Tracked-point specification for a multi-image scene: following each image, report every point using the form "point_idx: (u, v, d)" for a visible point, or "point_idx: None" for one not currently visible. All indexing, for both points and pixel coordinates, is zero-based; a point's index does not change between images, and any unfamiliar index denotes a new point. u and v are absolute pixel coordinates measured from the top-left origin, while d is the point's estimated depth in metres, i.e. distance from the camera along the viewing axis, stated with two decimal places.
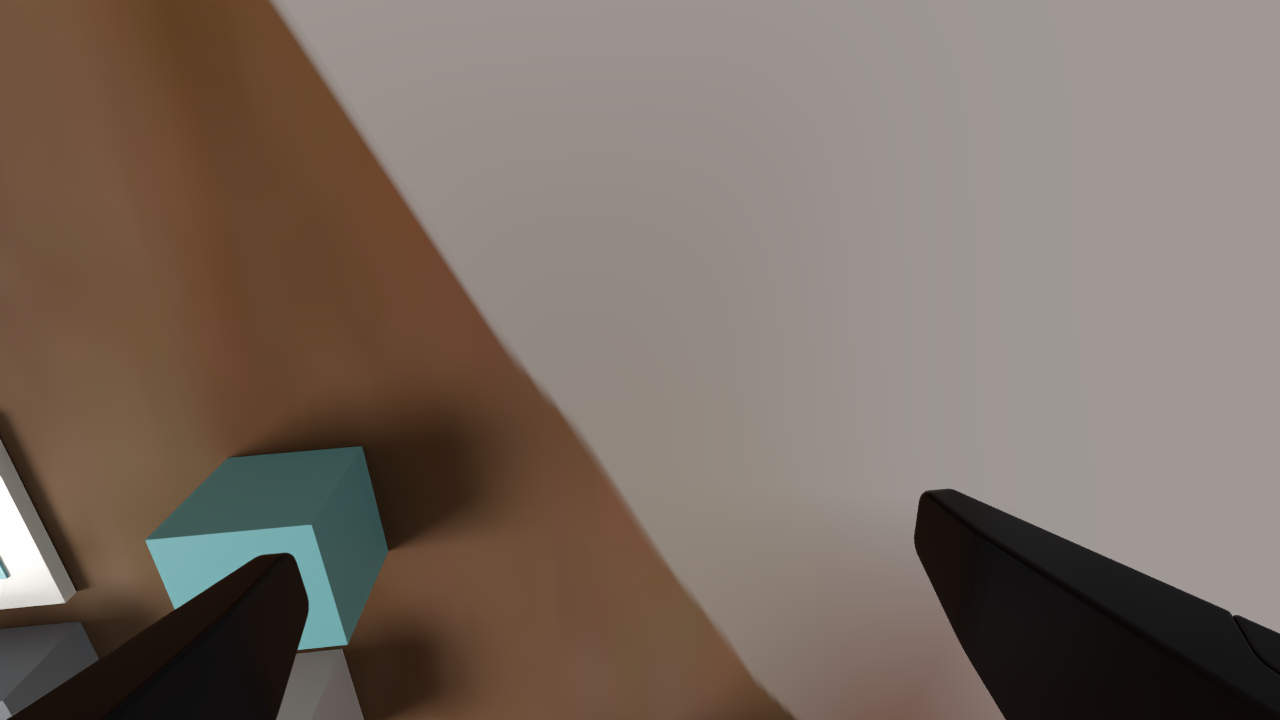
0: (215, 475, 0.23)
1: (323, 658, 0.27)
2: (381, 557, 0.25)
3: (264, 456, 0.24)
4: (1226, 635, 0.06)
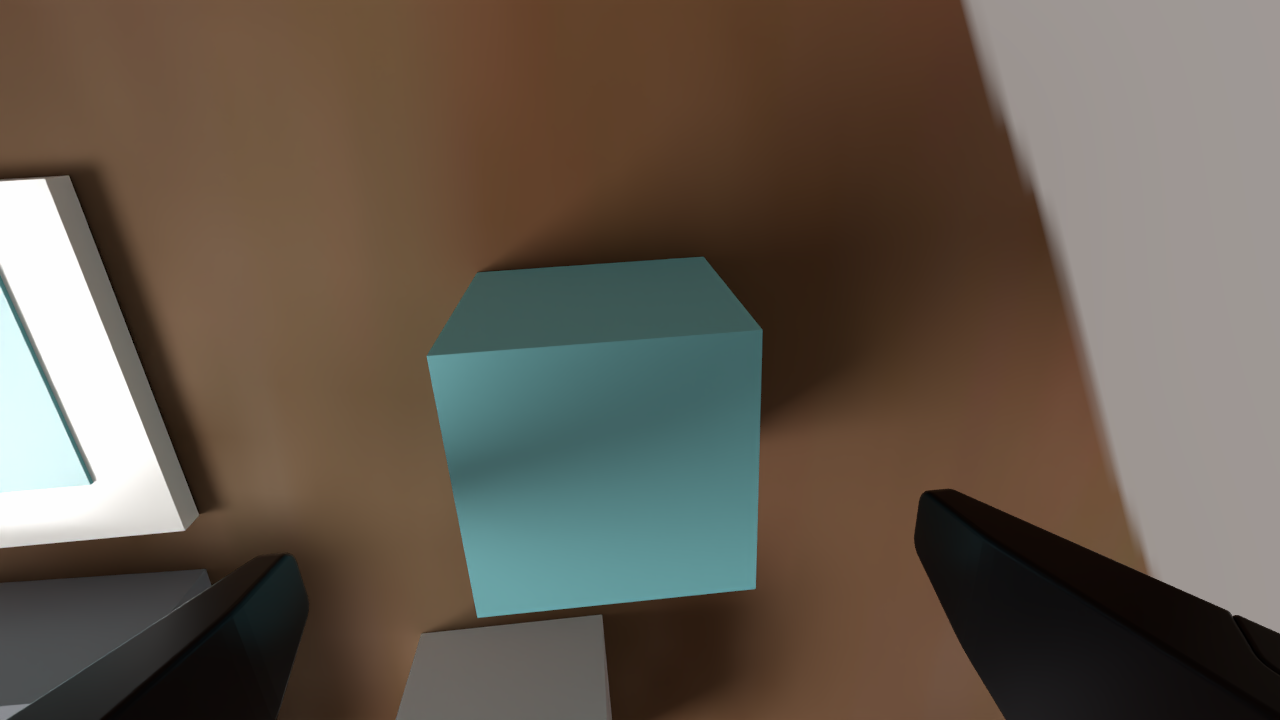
0: (477, 287, 0.13)
1: (579, 628, 0.17)
2: None
3: (542, 269, 0.14)
4: (1226, 635, 0.06)
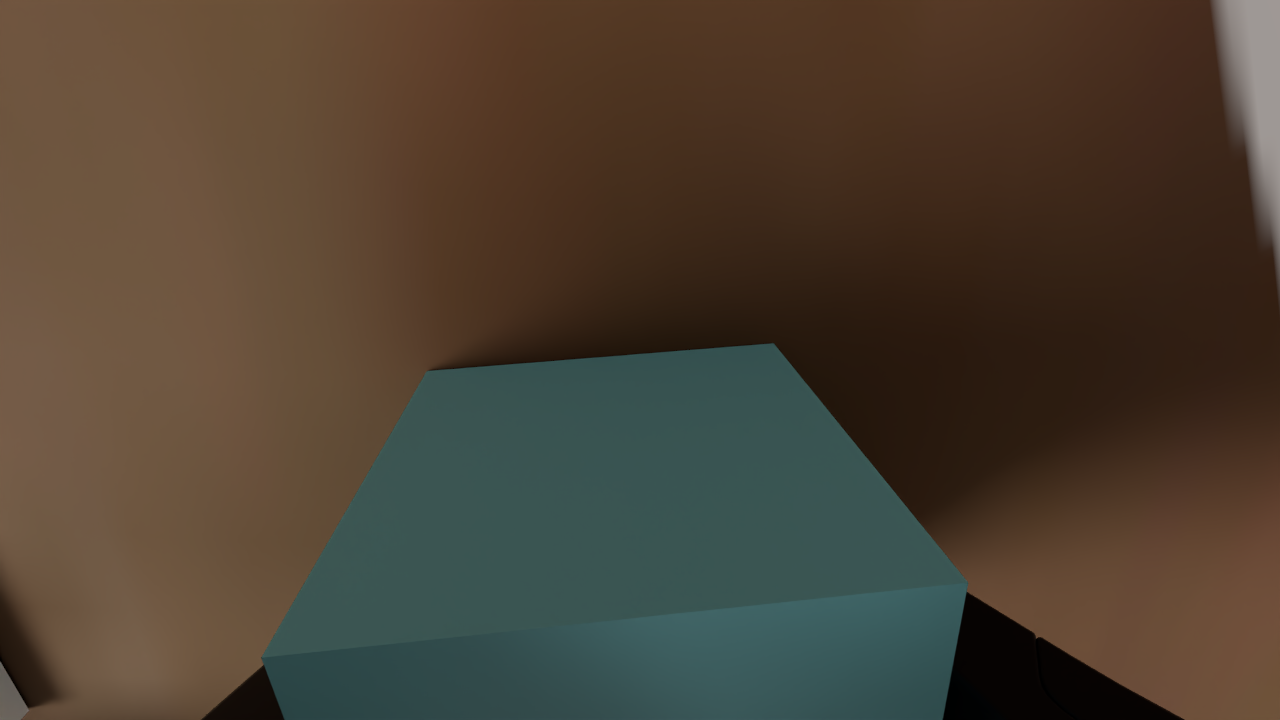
0: (418, 413, 0.08)
1: None
2: None
3: (526, 369, 0.09)
4: (1018, 659, 0.05)
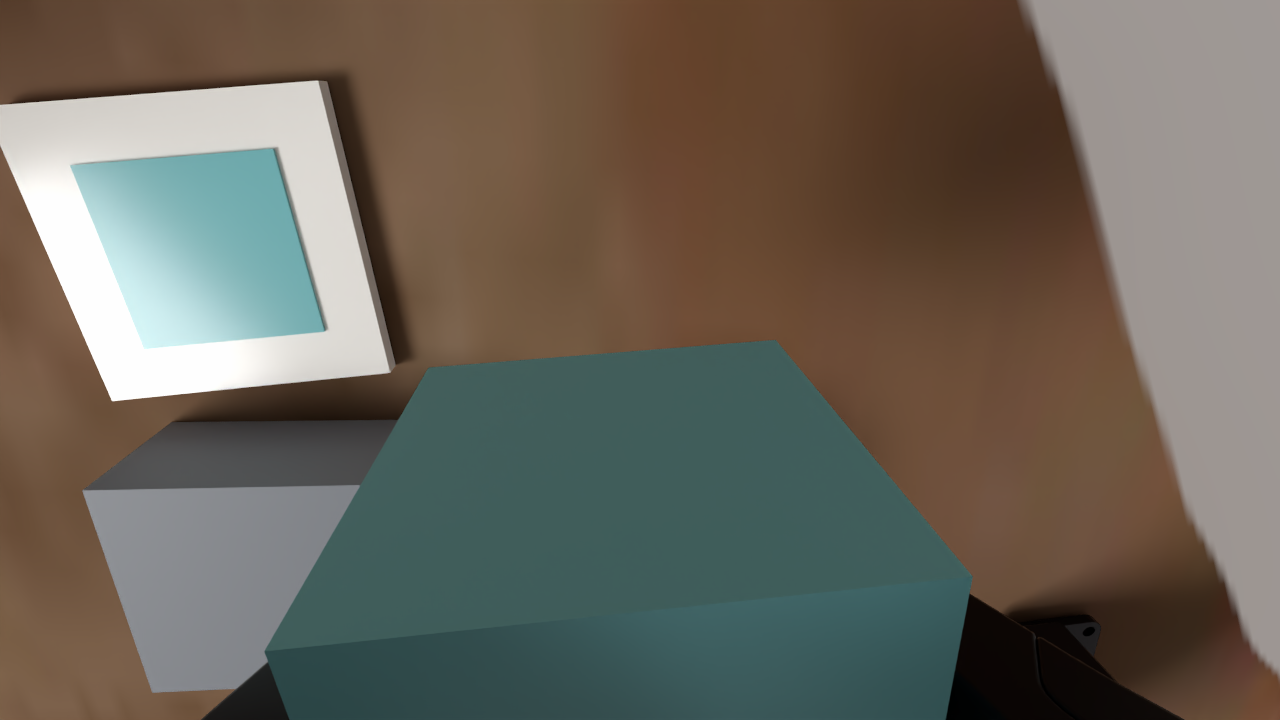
0: (420, 409, 0.08)
1: None
2: None
3: (528, 365, 0.09)
4: (1018, 659, 0.05)
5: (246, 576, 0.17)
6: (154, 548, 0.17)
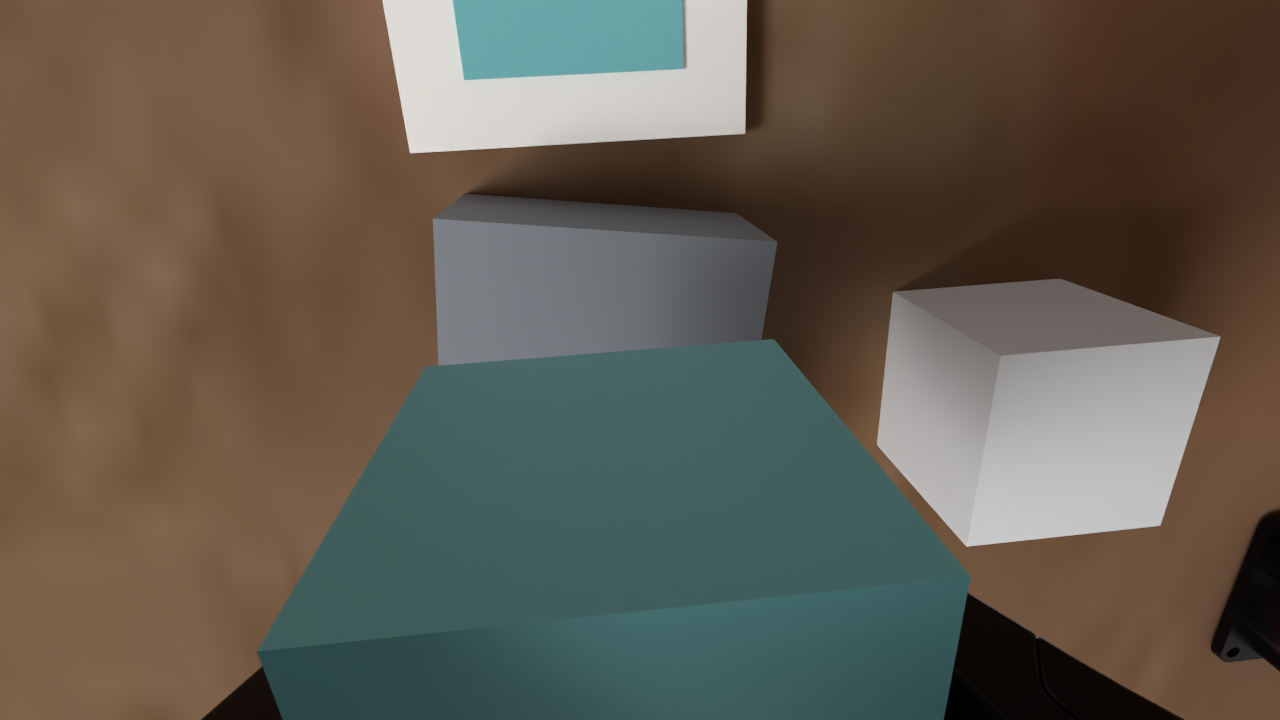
0: (417, 408, 0.08)
1: (1049, 284, 0.18)
2: None
3: (525, 364, 0.09)
4: (1018, 659, 0.05)
5: None
6: (499, 311, 0.13)
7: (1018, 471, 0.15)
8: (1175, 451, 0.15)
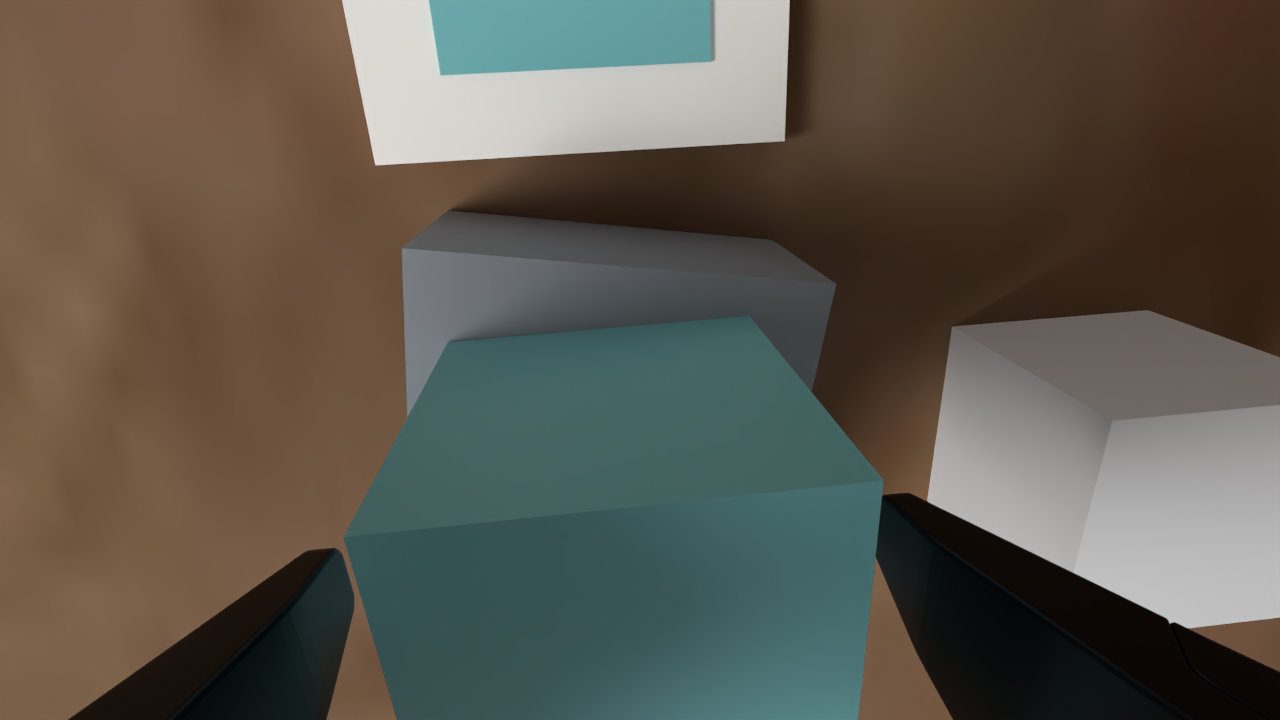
0: (444, 373, 0.09)
1: (1137, 317, 0.15)
2: None
3: (534, 339, 0.10)
4: (1160, 643, 0.06)
5: None
6: None
7: (1123, 557, 0.12)
8: None
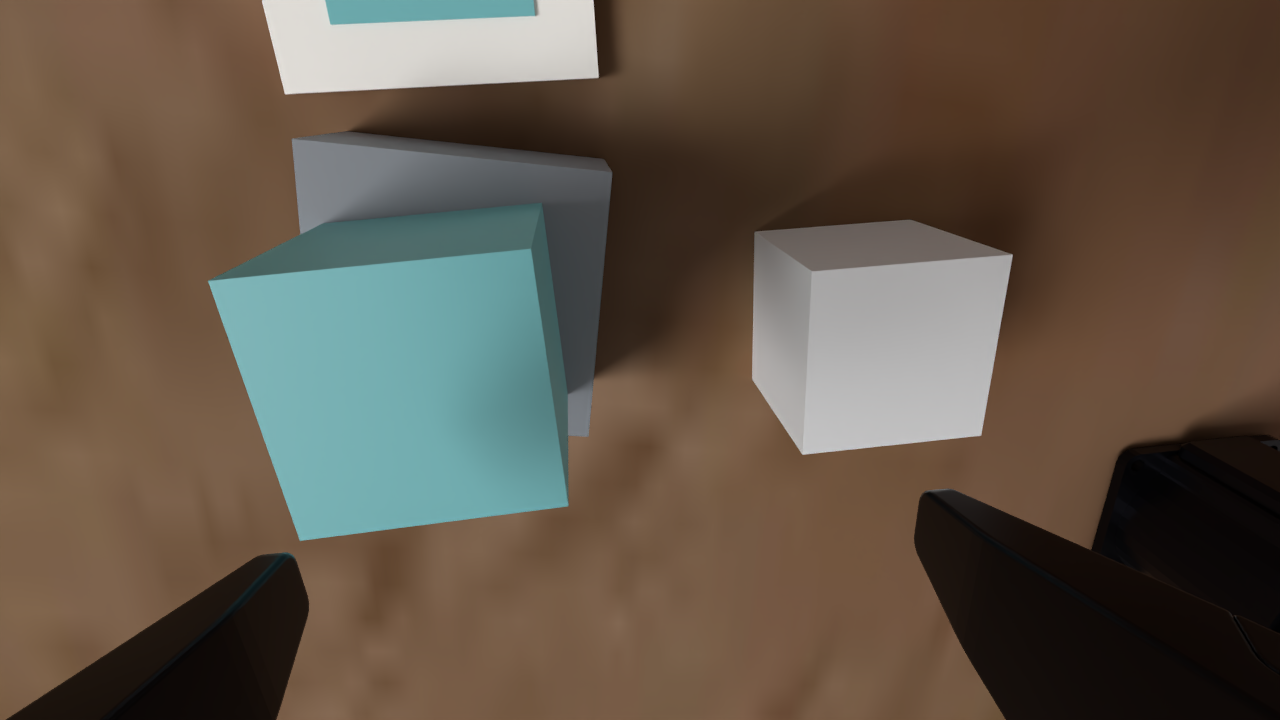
0: (309, 234, 0.13)
1: (897, 223, 0.19)
2: (566, 398, 0.16)
3: (383, 219, 0.14)
4: (1226, 635, 0.06)
5: None
6: None
7: (841, 382, 0.16)
8: (985, 363, 0.16)
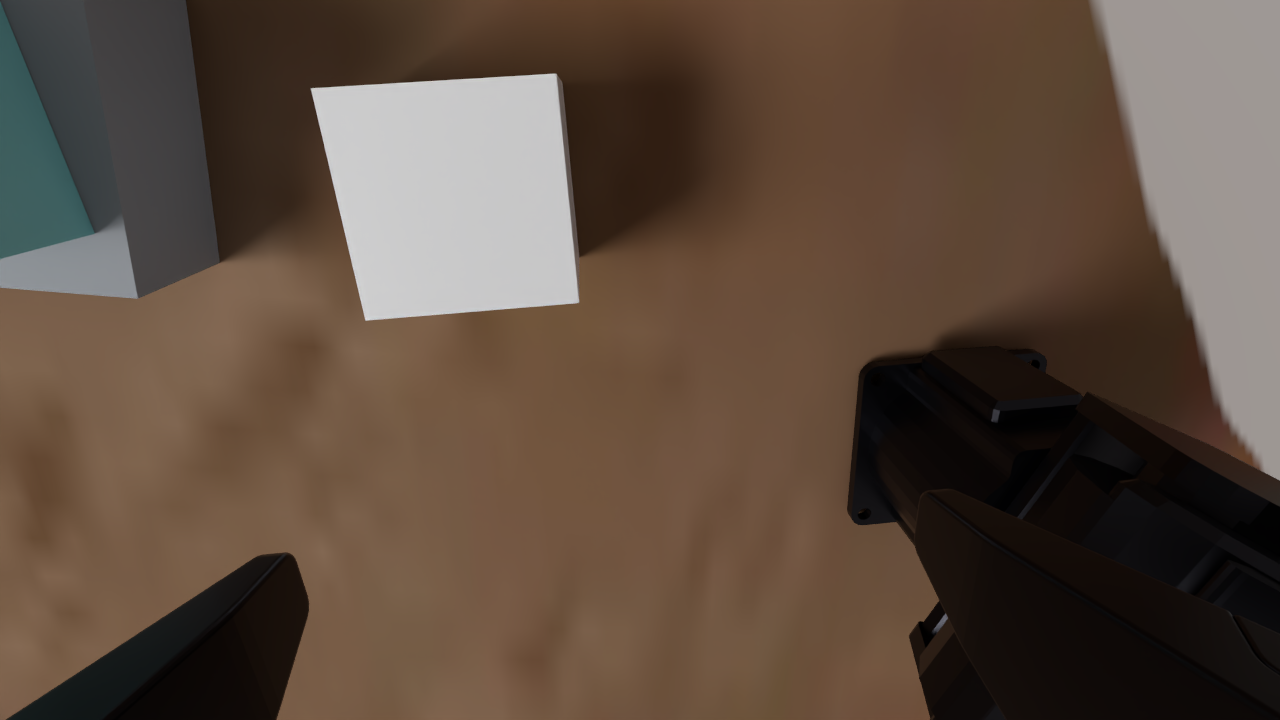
0: None
1: None
2: (63, 228, 0.14)
3: None
4: (1226, 635, 0.06)
5: None
6: None
7: (388, 231, 0.14)
8: (559, 212, 0.14)
